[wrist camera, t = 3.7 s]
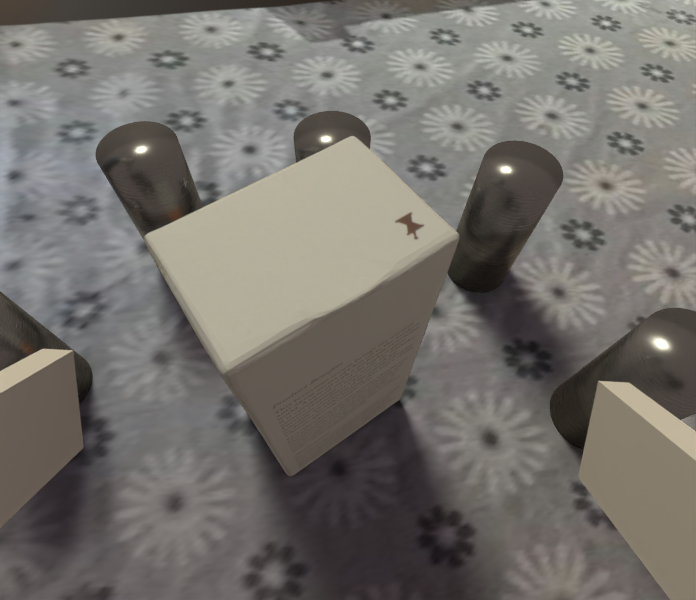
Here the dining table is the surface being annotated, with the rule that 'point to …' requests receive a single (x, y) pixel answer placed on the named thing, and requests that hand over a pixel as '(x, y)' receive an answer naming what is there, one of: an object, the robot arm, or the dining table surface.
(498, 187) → the set of grey cylinders
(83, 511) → the dining table surface
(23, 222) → the dining table surface
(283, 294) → the skincare box
